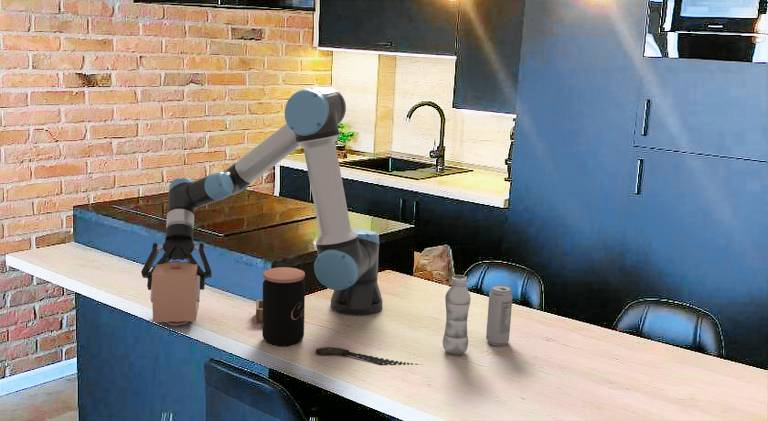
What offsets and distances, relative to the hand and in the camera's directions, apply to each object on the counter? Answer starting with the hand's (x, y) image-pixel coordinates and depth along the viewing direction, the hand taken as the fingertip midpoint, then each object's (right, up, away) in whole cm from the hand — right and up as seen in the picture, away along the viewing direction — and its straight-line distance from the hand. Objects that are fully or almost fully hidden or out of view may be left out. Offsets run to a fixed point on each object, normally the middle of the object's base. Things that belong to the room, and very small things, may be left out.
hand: (175, 300), depth 212 cm
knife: (+52, -14, -16) cm, 56 cm away
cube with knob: (-1, -4, +4) cm, 6 cm away
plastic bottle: (+73, -13, -9) cm, 75 cm away
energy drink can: (+85, -11, -1) cm, 86 cm away
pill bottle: (-1, -7, +4) cm, 8 cm away
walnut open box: (+25, -6, +10) cm, 28 cm away
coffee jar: (+29, -10, -5) cm, 31 cm away
